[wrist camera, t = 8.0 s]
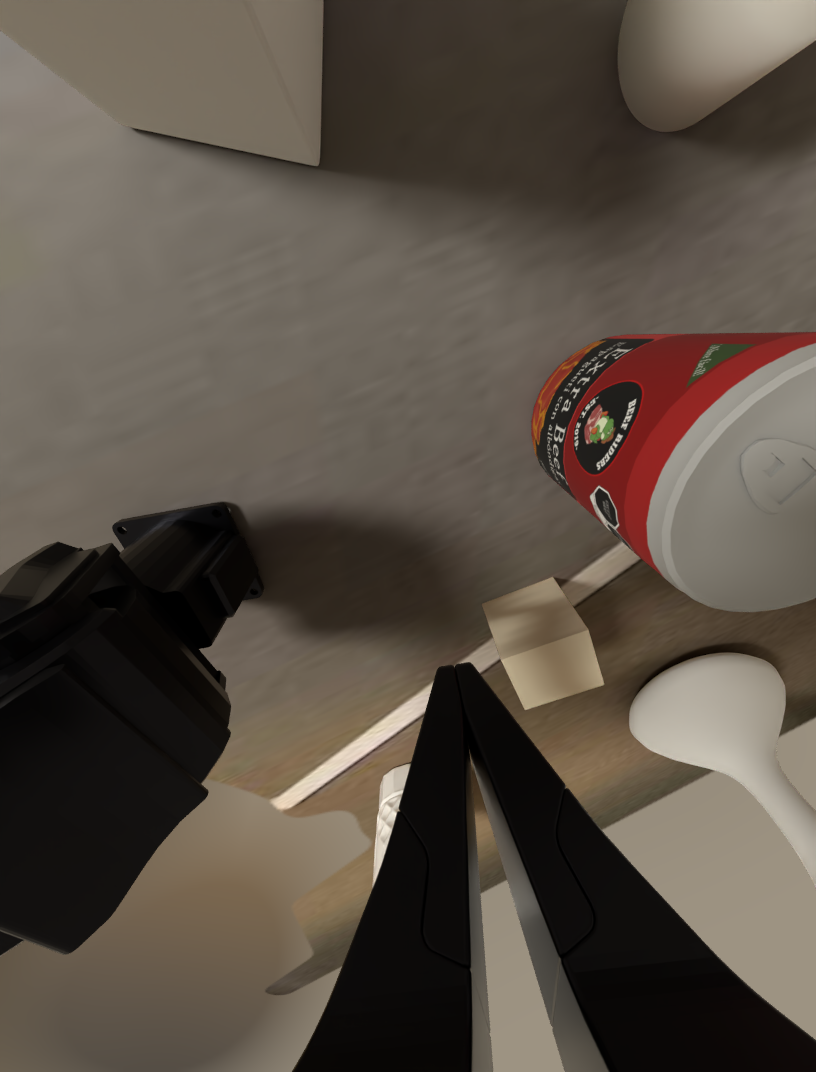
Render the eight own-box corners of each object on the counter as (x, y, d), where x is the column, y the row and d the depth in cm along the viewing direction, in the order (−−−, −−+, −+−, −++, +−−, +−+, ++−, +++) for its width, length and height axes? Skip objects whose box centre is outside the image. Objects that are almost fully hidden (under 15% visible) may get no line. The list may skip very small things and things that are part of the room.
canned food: (566, 311, 17) (809, 278, 7) (709, 363, 18) (1076, 394, 8) (502, 467, 20) (604, 587, 11) (625, 500, 22) (816, 634, 12)
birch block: (503, 649, 27) (524, 710, 23) (481, 603, 25) (501, 660, 21) (568, 626, 26) (604, 684, 22) (552, 576, 24) (588, 629, 20)
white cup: (410, 747, 32) (417, 899, 24) (472, 775, 35) (500, 921, 26) (358, 787, 35) (348, 936, 26) (419, 810, 38) (428, 952, 29)
